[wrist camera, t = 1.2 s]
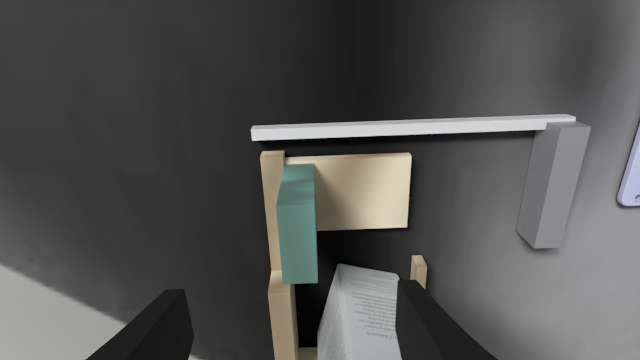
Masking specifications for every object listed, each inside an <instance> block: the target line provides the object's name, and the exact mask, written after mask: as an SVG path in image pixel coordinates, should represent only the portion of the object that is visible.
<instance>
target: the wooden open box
mask: <svg viewBox="0 0 640 360" xmlns="http://www.w3.org/2000/svg"><path fill="white" fill-rule="evenodd" d="M411 159H412V156H411V155H410V153H388V154H362V155H335V156H309V157H285V153H284V151H263V152H262V154H261V156H260V161H261V171H262V180H263V190H264V200H265V210H266V220H267V230H268V240H269V249H270V259H271V269H272V272H271V278H270V284H269V290H268V298H269V308H270V317H271V326H272V335H273V344H274V353H275V360H318V347H304V348H299V341H298V328H297V314H296V301H295V288H294V284H300V283H318V269H317V231H326V230H351V229H377V228H403V227H407V220H408V205H409V189H410V174H411ZM426 274H427V265H426V263H425V261H424V259H423V257H422V255H415V256H412V263H411V277H410V280H417V281H418V282H419V283H420V284H421V285H422V287H423V288H424V289H425V285H426Z"/></svg>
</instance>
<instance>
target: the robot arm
mask: <svg viewBox="0 0 640 360" xmlns="http://www.w3.org/2000/svg"><path fill="white" fill-rule="evenodd" d="M637 195H638V196H637ZM636 196H637V198H635V197H636ZM617 200H618V202H619V203H621V204H622V205H624V206H640V124H639V128H638V131H637V134H636V138H635V141H634V144H633V147H632V151H631V154H630V157H629V160H628V164H627V167H626V170H625V174H624V177H623V180H622V183H621V187H620V190H619V193H618V196H617ZM395 330H396V335H397V340H398V345H399V349H400V354H401V358H402V360H498V359H496V358H495V357H494V356H492V355H491V354H490V353H489V352H488V351H486V350H485V349H484V348H483V347H482V346H481V345H479V344H478V343H477V342H476V341H475V340H474V339H473V338H472V337H471V336H470V335H468V334H467V333H466V332H465V331H464V330H463V329H462V328H461V327H460V326H459V325H458V324H457V323H456V322H455V321H454V320H453V319H452V318H451V317H450V316H449V315H448V314H447V313H446V312H445V311H444V310H443V309H442V308H441V307H440V305H439V304H438V303H437V302H436V301H435V300H434V299H433V298H432V297H431V296H430V294H429V293H428V292H427V291H426V290H425V289H424V288H423V287H422V285H421V284H420V283H419V282H418V281H417V280H398V284H397V301H396V318H395ZM193 338H194V332H193V328H192V323H191V318H190V314H189V309H188V304H187V300H186V295H185V291H184V289H170V290H165V291H164V292H163V293H162V294H160V295H159V296H158V297H157V298H156V299H155V300H154V301H153V302H152V303H151V304H149V305H148V306H147V307H146V308H145V309H144V310H143V311H142V312H141V313H140V314H139V315H137V316H136V317H135V318H134V319H133V320H132V321H131V322H130V323H129V324H127V325H126V326H125V327H124V328H123V329H122V330H121V331H120V332H118V334H116V335H115V336H114V337H113V338H111V339H110V340H109V341H108V342H107V343H105V344H104V345H103V346H102V347H101V348H99V349H98V350H97V351H96V352H94V353H93V354H92V355H91V356H90V357H88V358H87V359H86V360H188V358H189V354H190V351H191V347H192V343H193Z"/></svg>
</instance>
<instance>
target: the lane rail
mask: <svg viewBox="0 0 640 360" xmlns="http://www.w3.org/2000/svg"><path fill="white" fill-rule="evenodd" d="M575 119H576V117H574V116H571V115H568V114H554V115H528V116H501V117H474V118H448V119H421V120H395V121H368V122H342V123H315V124H288V125H262V126H253V127H252V129H251V135H252V141H257V140H283V139H310V138H336V137H363V136H389V135H416V134H442V133H468V132H495V131H521V130H536V131H535V136H534V141H533V146H532V152H531V157H530V162H529V167H528V172H527V177H526V182H525V187H524V192H523V197H522V202H521V207H520V213H519V218H518V223H517V228H516V231H517V232H518V233H519V234H520V235H521V236H522V237H523V238H524V239H525V240H526V241H527V242H528V243H529V244H530V245H531V246H532V247H533V248H559V247H561V243H562V239H563V236H564V232H565V228H566V224H567V220H568V216H569V212H570V208H571V204H572V200H573V196H574V192H575V188H576V185H577V181H578V177H579V173H580V169H581V165H582V161H583V157H584V153H585V149H586V145H587V141H588V138H589V134H590V130H591V126H588V125H585V124H582V123H579V122H576V121H575Z"/></svg>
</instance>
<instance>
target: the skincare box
mask: <svg viewBox="0 0 640 360" xmlns="http://www.w3.org/2000/svg"><path fill="white" fill-rule="evenodd" d="M398 280H400V279H399V276H398V275H397V274H395V273H389V272H383V271H378V270H372V269H367V268H361V267H356V266H351V265H345V264H338V265H337V268H336V272H335V275H334V278H333V282H332V285H331V288H330V292H329V295H328V298H327V302H326V305H325V308H324V312H323V315H322V319H321V322H320V325H319V329H318V332H317V343H318V360H402V358H401V354H400V349H399V345H398V340H397V335H396V330H395V318H396V301H397V284H398Z"/></svg>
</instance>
